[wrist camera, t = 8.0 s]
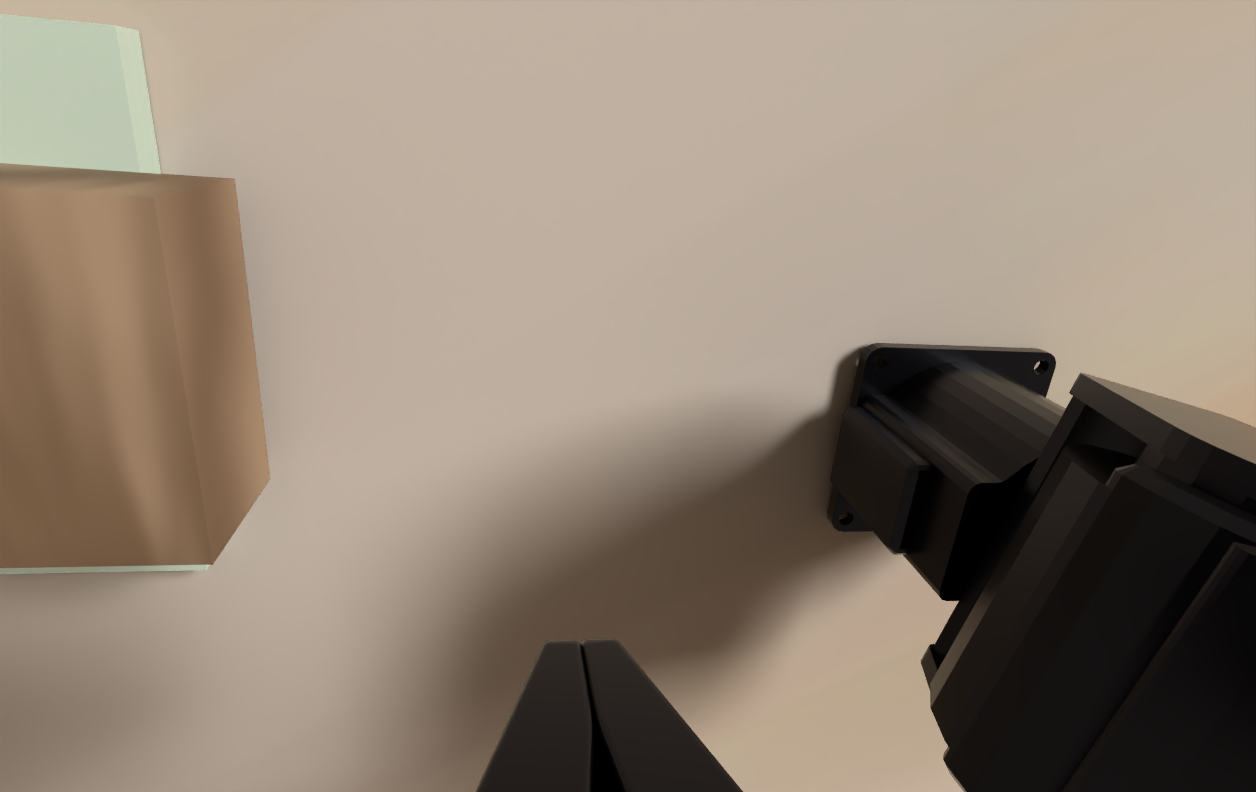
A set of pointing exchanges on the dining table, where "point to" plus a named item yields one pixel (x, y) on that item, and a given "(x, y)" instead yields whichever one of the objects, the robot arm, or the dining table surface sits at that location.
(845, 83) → the dining table surface
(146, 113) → the rubber pad
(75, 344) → the walnut block
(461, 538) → the dining table surface
